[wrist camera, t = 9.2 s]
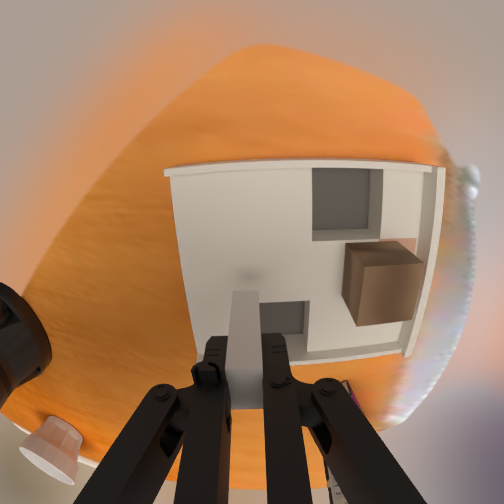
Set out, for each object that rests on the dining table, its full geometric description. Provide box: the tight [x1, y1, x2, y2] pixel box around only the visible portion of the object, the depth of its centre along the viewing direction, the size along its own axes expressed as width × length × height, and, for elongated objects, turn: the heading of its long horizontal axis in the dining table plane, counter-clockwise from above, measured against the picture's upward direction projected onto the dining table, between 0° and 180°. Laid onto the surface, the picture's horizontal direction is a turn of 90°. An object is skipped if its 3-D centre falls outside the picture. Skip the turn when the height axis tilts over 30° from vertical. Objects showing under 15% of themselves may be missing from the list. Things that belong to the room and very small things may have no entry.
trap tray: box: [164, 158, 445, 366], centre depth 22 cm, size 20×17×5 cm
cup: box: [19, 416, 83, 485], centre depth 34 cm, size 12×12×11 cm
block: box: [341, 241, 424, 327], centre depth 19 cm, size 4×4×4 cm
